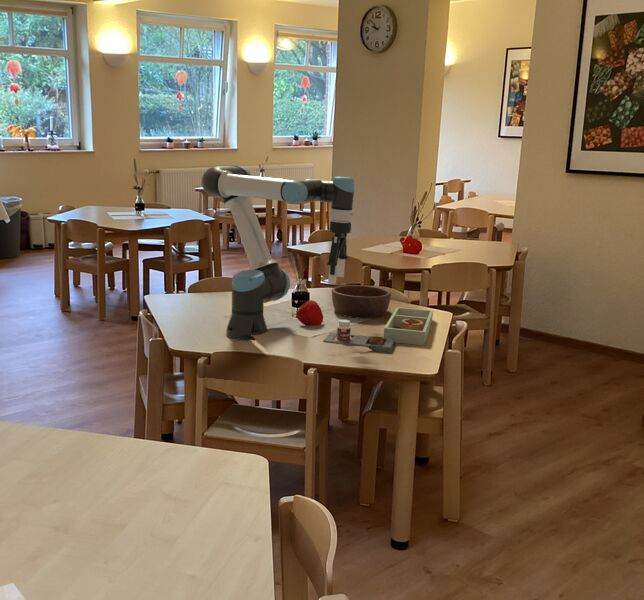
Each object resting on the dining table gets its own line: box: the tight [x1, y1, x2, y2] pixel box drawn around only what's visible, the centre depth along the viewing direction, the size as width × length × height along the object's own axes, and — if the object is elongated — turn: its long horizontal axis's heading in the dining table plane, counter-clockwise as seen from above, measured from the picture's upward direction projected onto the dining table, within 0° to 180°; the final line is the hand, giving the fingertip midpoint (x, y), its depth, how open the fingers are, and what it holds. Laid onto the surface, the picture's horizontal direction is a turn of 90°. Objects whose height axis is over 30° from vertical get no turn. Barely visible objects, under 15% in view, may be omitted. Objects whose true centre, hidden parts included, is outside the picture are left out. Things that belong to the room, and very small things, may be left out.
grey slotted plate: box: [323, 332, 396, 354], centre depth 269 cm, size 24×12×2 cm, turn 77°
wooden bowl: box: [331, 284, 392, 319], centre depth 316 cm, size 25×25×10 cm
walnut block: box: [369, 332, 384, 346], centre depth 268 cm, size 4×4×4 cm
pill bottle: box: [336, 319, 352, 342], centre depth 270 cm, size 5×5×8 cm
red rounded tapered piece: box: [296, 299, 324, 327], centre depth 289 cm, size 10×10×11 cm
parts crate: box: [383, 306, 434, 346], centre depth 292 cm, size 15×37×5 cm, turn 167°
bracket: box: [400, 319, 423, 331], centre depth 296 cm, size 18×8×7 cm, turn 168°
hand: (336, 280), depth 269 cm, fingers open, 13 cm apart
